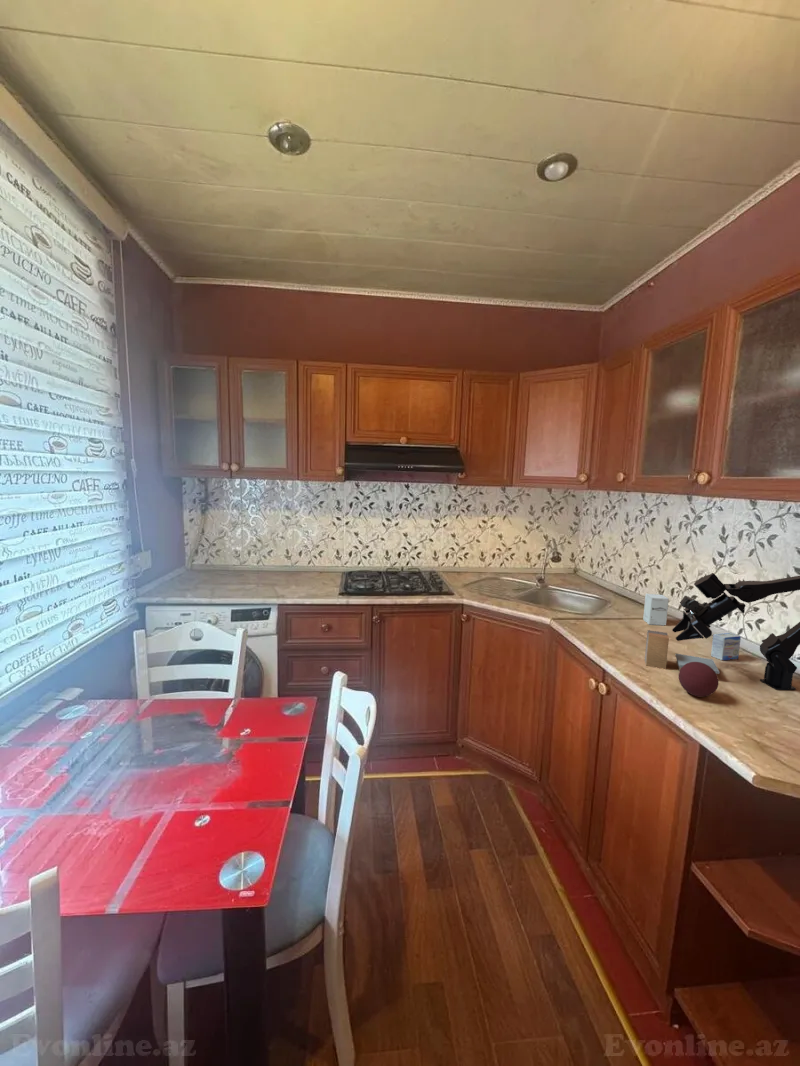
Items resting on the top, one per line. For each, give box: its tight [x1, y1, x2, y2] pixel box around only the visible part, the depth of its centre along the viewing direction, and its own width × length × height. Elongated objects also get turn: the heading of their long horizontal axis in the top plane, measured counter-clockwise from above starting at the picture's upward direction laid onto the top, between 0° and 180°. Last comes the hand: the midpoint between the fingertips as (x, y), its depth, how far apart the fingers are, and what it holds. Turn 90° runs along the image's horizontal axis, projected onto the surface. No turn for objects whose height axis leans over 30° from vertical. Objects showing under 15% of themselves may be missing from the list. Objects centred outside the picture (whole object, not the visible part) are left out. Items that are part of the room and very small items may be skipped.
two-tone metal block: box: [644, 629, 670, 670], centre depth 156 cm, size 6×6×11 cm
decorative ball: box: [678, 662, 719, 698], centre depth 134 cm, size 10×10×10 cm
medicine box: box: [710, 632, 741, 661], centre depth 163 cm, size 8×4×9 cm, turn 105°
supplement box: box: [642, 593, 670, 626], centre depth 201 cm, size 7×7×13 cm
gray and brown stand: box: [675, 653, 720, 675], centre depth 151 cm, size 11×11×3 cm
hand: (674, 635), depth 153 cm, fingers open, 9 cm apart
